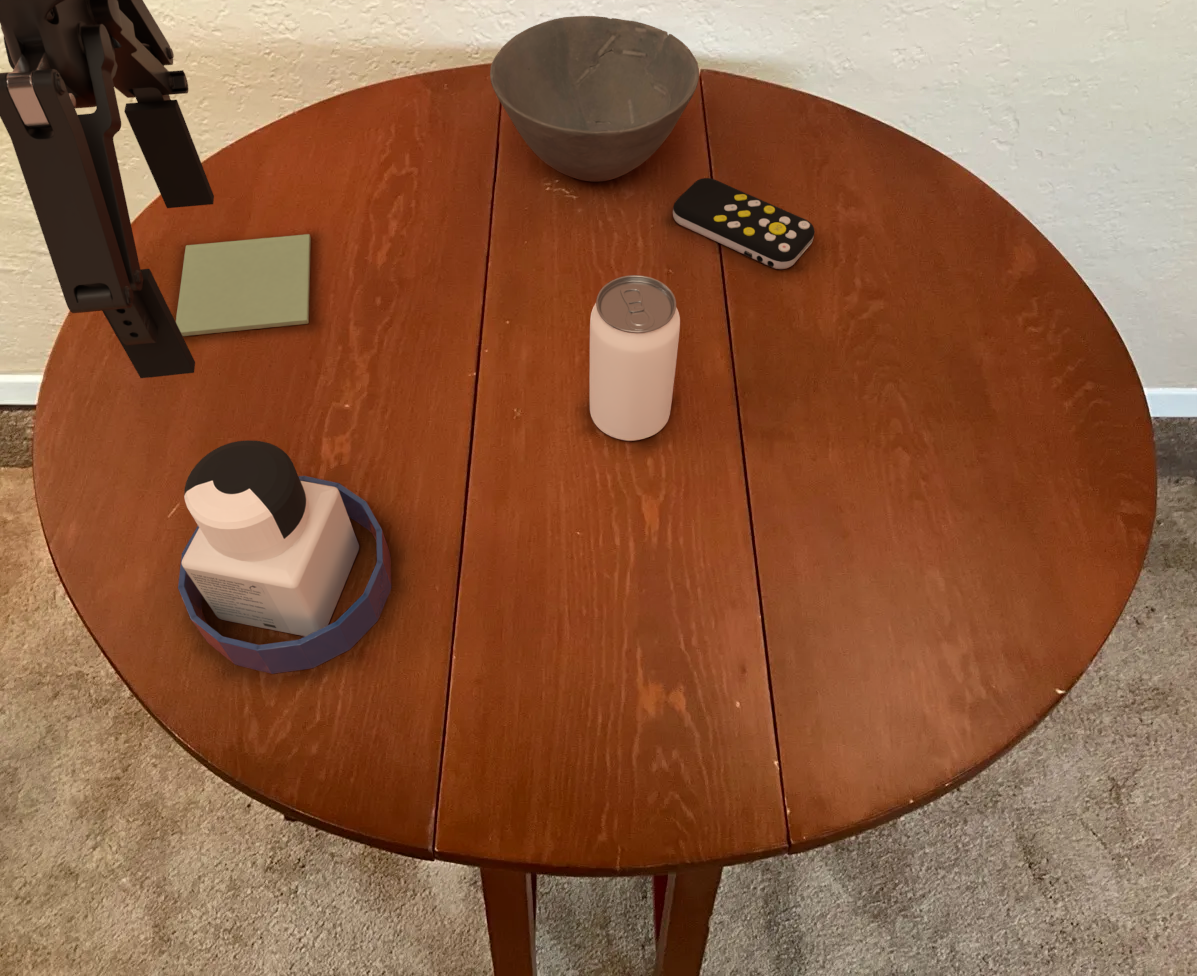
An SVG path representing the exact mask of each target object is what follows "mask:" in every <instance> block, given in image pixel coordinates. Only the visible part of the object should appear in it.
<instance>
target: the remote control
mask: <svg viewBox="0 0 1197 976" xmlns="http://www.w3.org/2000/svg"><path fill="white" fill-rule="evenodd" d="M672 218H673V219H674V221H675V222H676V223H677V224H678V225H680V226H682V227H684V228H686V229H687V230H690V231H692V232H695V233H696V234H699V235H701V236H703V237H705V238H708V239H710V240H712V241H714V242H716V243H718V244H721V245H722V246H725V247H727V248H729V249H731V250H734V251H736V252H737V253H740V254H742V255H743V256H747V257H749V258H751V259H753V260H755V261H757V262H759V263H762V264H764V265H765V266H768V267H770V268H772V269H775V270H786V269H789V268H791V267H792V266H793V265H795V263H796V262H797V261H798V260H799V259H800V257H801V256H803V254H804V253H805V252H806V251H807V249H808V248H809V247H810V246H811V245H812V243H813V241H814V238H815V227H814V225H813V224H812V223H811V222H810V221H809V220H807V219H805V218H803V217H801V216H799V215H796V214H794V213H792V212H790V211H787V210H786V209H783V208H780V207H778V206H776V205H774V204H771V203H770V202H767V201H765V200H762V199H760V198H758V197H756V196H753V195H752V194H749V193H746V192H744V191H742V190H740V189H737V188H735V187H732V186H730V185H729V184H727V183H723V182H721V181H719V180H717V179H714V178H710V177H702V178H699V179H697V180H696V181H694V182H693V183H692V184H691V185H690V186H689V187H688V188H687V189H686V190H685V191H684V192H683V193H682V194H681V195H680V196H679V197H678V198H677V199H676V200H675V202H674V203H673V207H672Z"/></svg>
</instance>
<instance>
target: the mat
mask: <svg viewBox="0 0 1197 976" xmlns="http://www.w3.org/2000/svg"><path fill="white" fill-rule="evenodd" d="M311 238H312V237H311V234H309V233H304V234H295V235H283V236H273V237H262V238H253V239H252V238H251V239H240V240H239V239H238V240H229V241H228V240H227V241H220V242H209V243H198V244H187V245H185V250H184V256H183V265H182V272H181V278H180V279H181V280H180V285H179V286H180V287H179V295H178V303H177V310H176V317H175V322H176V324H177V326H178V328H179V330H180V332H181V334H182V336H183V337H187V336H190V337H191V336H199V335H208V334H219V333H220V334H221V333H228V332H229V333H230V332H237V331H238V332H239V331H247V330H248V331H249V330H257V329H258V330H259V329H269V328H278V327H279V328H280V327H289V326H299V325H308V324H309V322H310V321H309V319H310V283H311V282H310V281H311V279H310V277H311V244H312V243H311V242H312V241H311V240H312V239H311Z"/></svg>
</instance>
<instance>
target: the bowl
mask: <svg viewBox="0 0 1197 976" xmlns="http://www.w3.org/2000/svg"><path fill="white" fill-rule="evenodd" d="M489 77H490V78H489V79H490V83H491V87H492V89H493V91H494V93H495V95H496V97H497V99H498V101H499V102H500V104H501V106H502V107H503V109H504V110H505V113H506V114H507V116H508V117H509V119H510V121H511V122H512V124H513V126H514V127H515V129H516V131H517V132H518V134H519V136H520V137H521V138H522V139H523V141H524V142H525V144H526V145H527V147H528V148H529V149H530V150H531V151H532V152H533V153H534V154H535V155H536V157H538V158H539V159H540V160H541V161H543V162H544V164H546V165H547V166H549V167H551V168H552V169H553V170H556V171H557V172H558V173H561V174H563V175H565V176H568V177H570V178H574V179H577V180H579V181H584V182H592V183H593V182H594V183H595V182H606V181H611V180H613V179H617V178H620V177H622V176H624V175H626V174H628V173H630V172H632V171H633V170H635V169H636V168H638V167H640V166H641V165H642V164H644V163H645V162H646V161H647V160H648V159H649V158H651V157H652V156H653V155H654V154H655V153H656V152H657V150H659V148H660V147H661V146H662V145H663V144H664V142H665V141H666V140H667V138H668V137H669V136H670V134H671V133H672V131H673V130H674V128H675V126H676V125H677V123H678V122H679V120H680V118H681V116H682V114H683V113H684V111H685V109H686V108H687V106H688V104H689V103H690V101H691V99H692V98H693V96H694V94H695V92H696V90H697V88H698V83H699V78H700V69H699V63H698V61H697V59H696V57H695V56H694V54H693V52H692V51H691V49H690V48H689V46H687V45H686V44H685V43H684V42H683V41H682V40H680V39H679V38H677V36H675V35H673V34H671V33H668V31H665V30H663V29H660V28H658V27H656V26H653V25H649V24H647V23H643V22H639V21H635V20H627V19H621V18H617V17H616V18H615V17H611V18H609V17H607V16H597V15H576V16H575V15H574V16H564V17H563V16H562V17H558V18H554V19H550V20H546V21H544V22H541V23H537V24H534V25H533V26H530V27H528V28H527V29H524V30H522V31H521V32H519V33H518V34H516V35H514V36H513V37H512V38H510V39H509V40H508V41H507V42H506V43H505V44H504V45H503V46H502V47H501V48H500V49H499V50H498V52H497V53H496V54H495V56H494V58H493V60H492V62H491V65H490V72H489Z"/></svg>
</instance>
